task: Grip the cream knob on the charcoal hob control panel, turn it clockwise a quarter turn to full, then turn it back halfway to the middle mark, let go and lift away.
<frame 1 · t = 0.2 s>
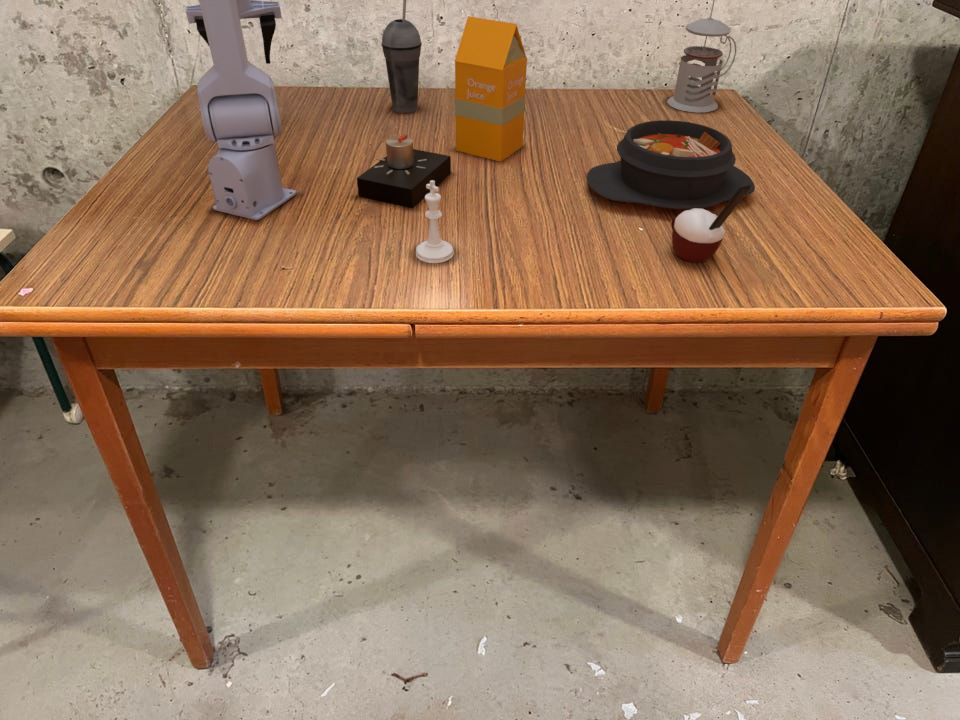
hand: (244, 62, 117), 11 cm above the table, tool pointing down, fingers open, 7 cm apart
french press: (696, 104, 135), on the table
orange juice: (489, 149, 116), on the table
casserole: (667, 193, 104), on the table
hob panel: (406, 185, 105), on the table
knob: (400, 151, 102), point 5 cm above the table, hinge at 0.0°
rice bowl: (693, 259, 89), on the table
chess piece: (434, 254, 89), on the table
beverage cup: (405, 109, 131), on the table
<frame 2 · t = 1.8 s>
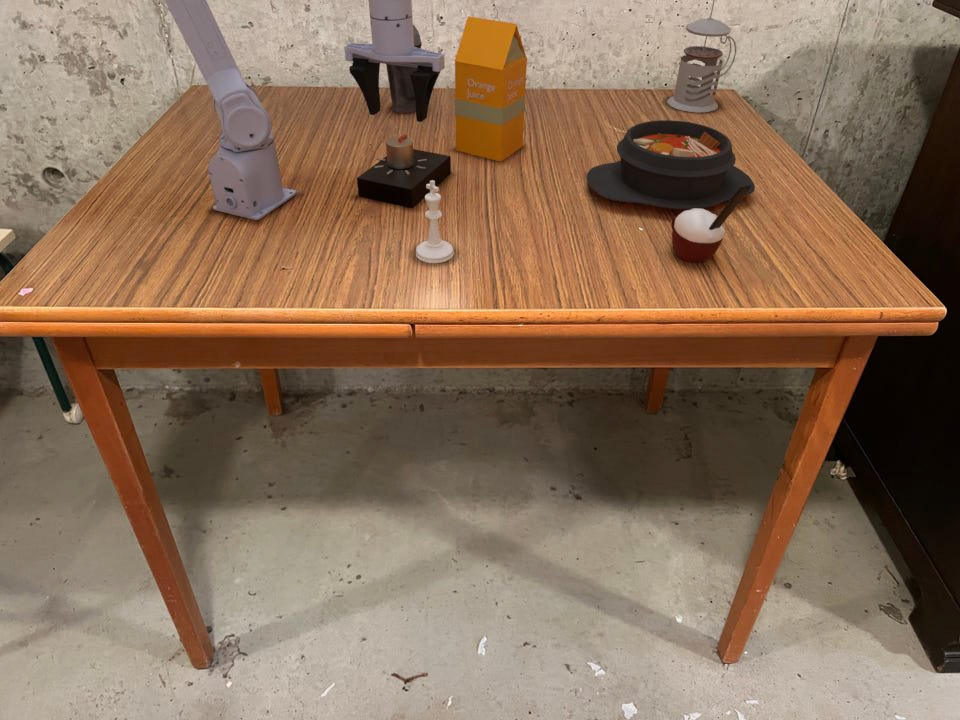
hand: (398, 116, 101), 9 cm above the table, tool pointing down, fingers open, 7 cm apart
nothing on the table moved.
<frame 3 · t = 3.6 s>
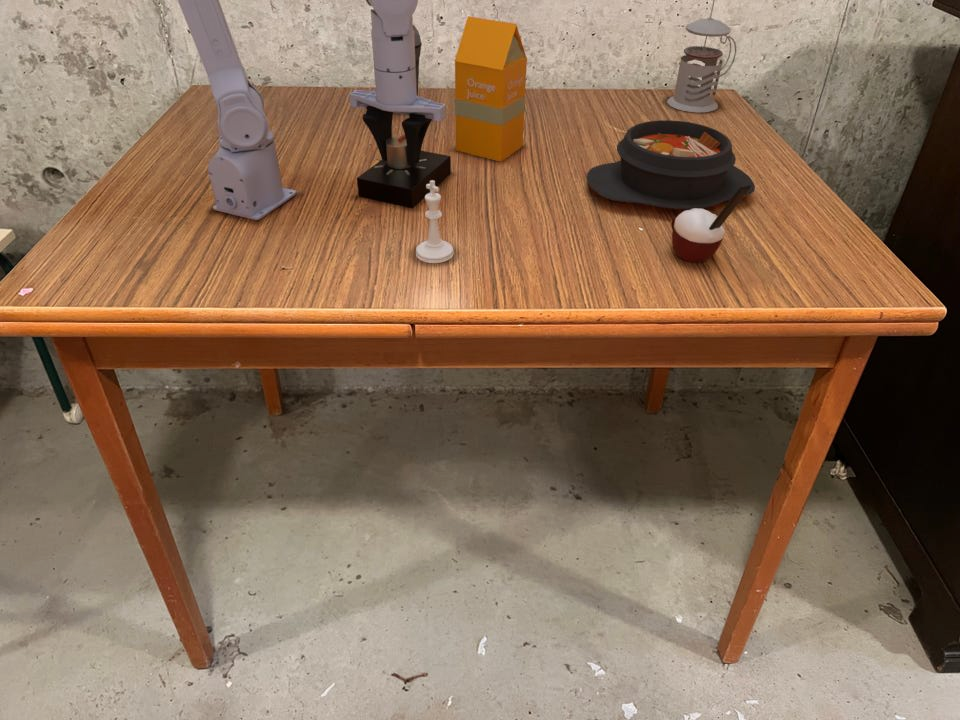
hand: (400, 160, 103), 4 cm above the table, tool pointing down, fingers closed on knob, 4 cm apart
knob: (400, 151, 102), point 5 cm above the table, hinge at 0.1°, touching gripper
everything else where it was.
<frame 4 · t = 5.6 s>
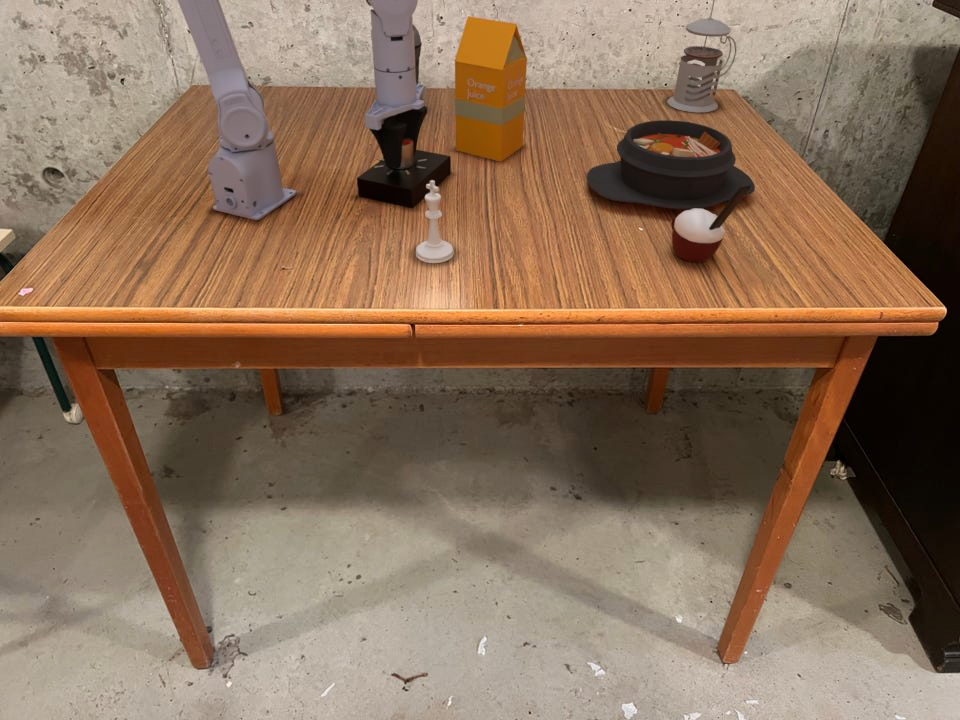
hand: (400, 161, 103), 4 cm above the table, tool pointing down, fingers closed on knob, 4 cm apart
knob: (400, 151, 102), point 5 cm above the table, hinge at -90.1°, touching gripper
everything else where it was.
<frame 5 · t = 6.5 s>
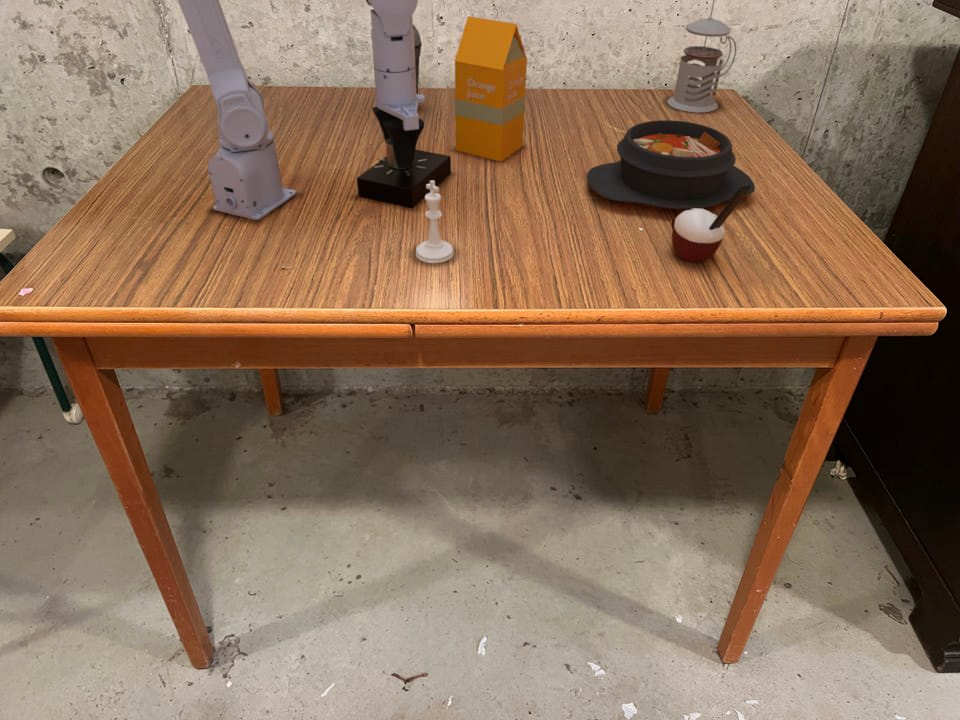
hand: (400, 161, 103), 4 cm above the table, tool pointing down, fingers closed on knob, 4 cm apart
knob: (400, 151, 102), point 5 cm above the table, hinge at -45.3°, touching gripper
everything else where it was.
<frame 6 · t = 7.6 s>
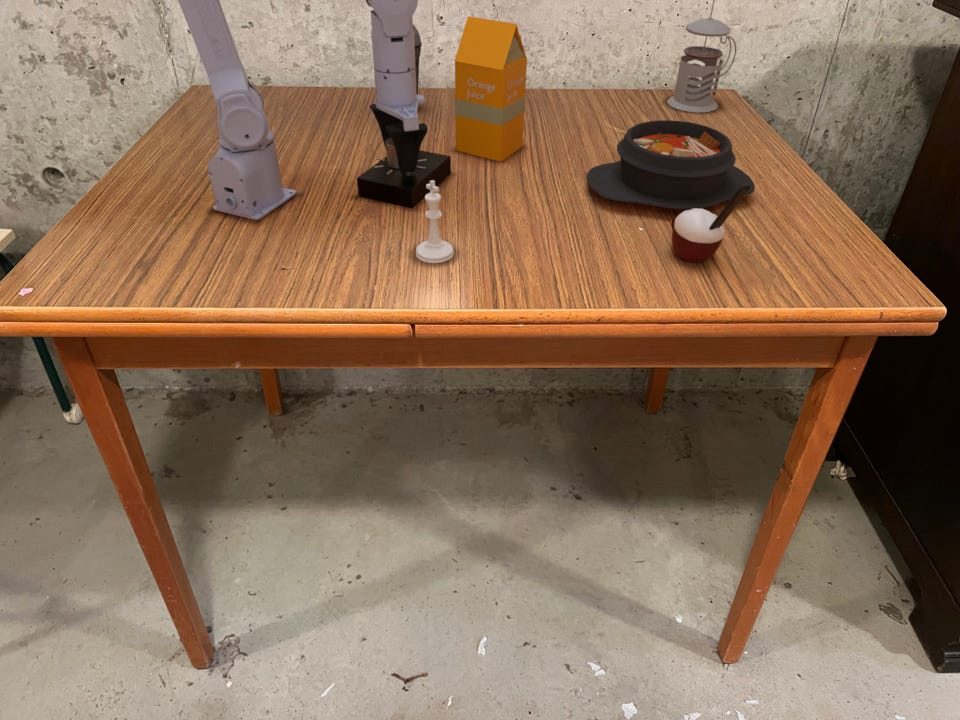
hand: (400, 161, 103), 3 cm above the table, tool pointing down, fingers open, 7 cm apart
knob: (400, 151, 102), point 5 cm above the table, hinge at -44.6°
everything else where it was.
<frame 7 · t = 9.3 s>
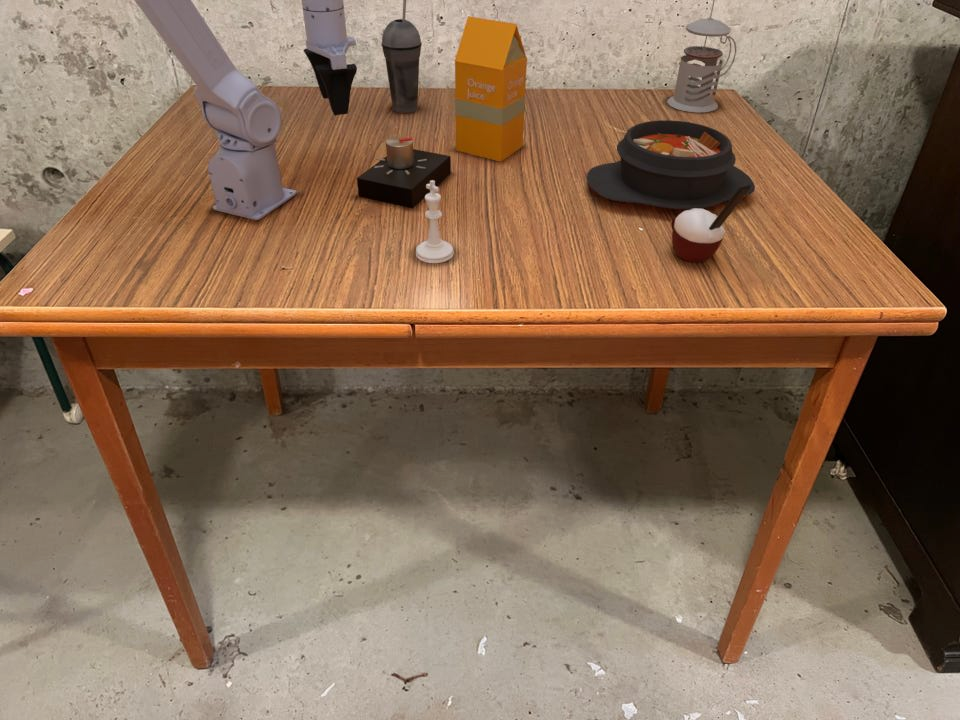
hand: (335, 105, 104), 9 cm above the table, tool pointing down, fingers open, 7 cm apart
nothing on the table moved.
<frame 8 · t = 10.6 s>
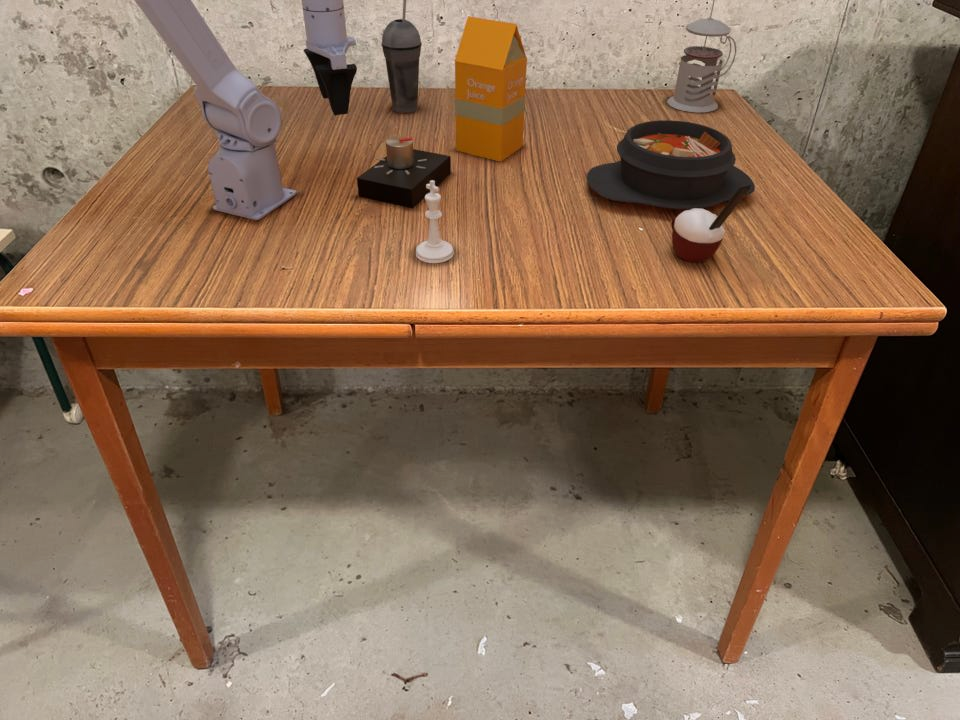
hand: (335, 105, 104), 9 cm above the table, tool pointing down, fingers open, 7 cm apart
nothing on the table moved.
at the end: knob reached -90° during the clip, -45° at the end; knob at -45° (first picture: +0°) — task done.
